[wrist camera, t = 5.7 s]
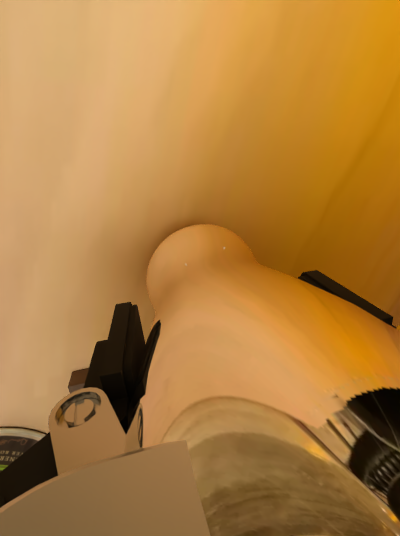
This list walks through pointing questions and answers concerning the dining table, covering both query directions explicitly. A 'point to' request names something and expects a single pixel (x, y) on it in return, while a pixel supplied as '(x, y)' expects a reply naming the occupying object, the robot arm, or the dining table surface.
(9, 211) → the dining table surface
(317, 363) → the beer glass
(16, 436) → the coffee can
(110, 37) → the dining table surface
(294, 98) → the dining table surface
